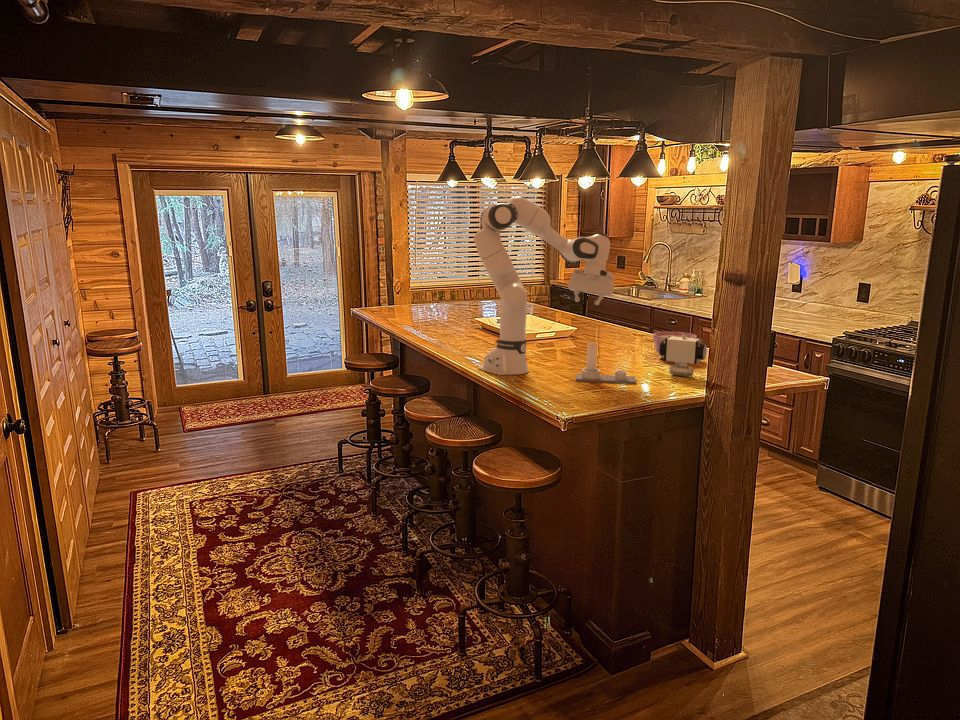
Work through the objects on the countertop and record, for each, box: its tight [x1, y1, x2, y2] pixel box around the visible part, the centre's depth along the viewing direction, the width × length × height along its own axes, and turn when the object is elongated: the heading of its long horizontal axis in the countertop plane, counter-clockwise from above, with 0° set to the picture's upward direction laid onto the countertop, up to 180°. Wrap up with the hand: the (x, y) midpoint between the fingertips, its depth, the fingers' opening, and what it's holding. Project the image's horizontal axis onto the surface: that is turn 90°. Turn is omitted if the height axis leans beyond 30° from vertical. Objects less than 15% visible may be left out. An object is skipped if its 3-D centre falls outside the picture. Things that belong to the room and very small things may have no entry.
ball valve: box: [659, 335, 708, 378], centre depth 280 cm, size 18×8×18 cm, turn 59°
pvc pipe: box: [585, 342, 598, 372], centre depth 273 cm, size 4×4×14 cm
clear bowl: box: [652, 331, 698, 358], centre depth 314 cm, size 20×20×12 cm
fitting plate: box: [575, 368, 637, 385], centre depth 273 cm, size 24×9×4 cm, turn 79°
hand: (586, 303), depth 288 cm, fingers open, 8 cm apart
